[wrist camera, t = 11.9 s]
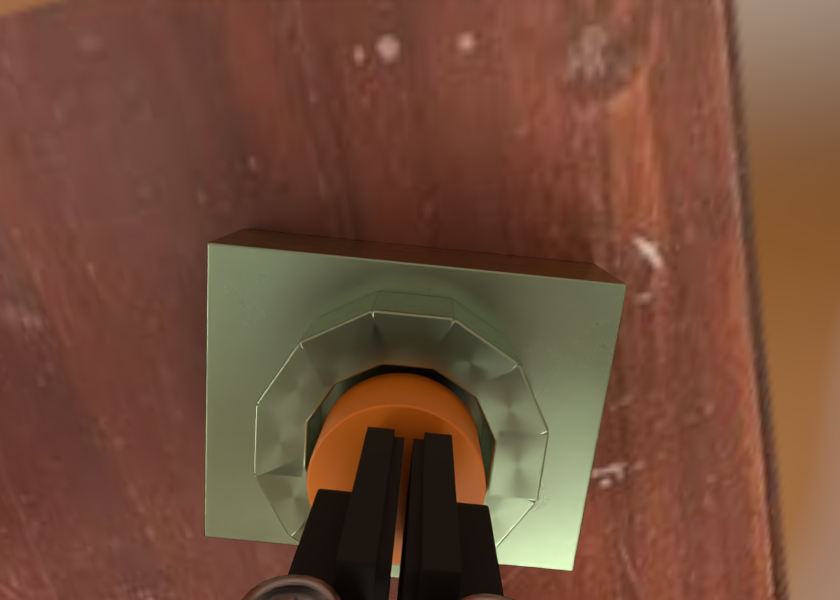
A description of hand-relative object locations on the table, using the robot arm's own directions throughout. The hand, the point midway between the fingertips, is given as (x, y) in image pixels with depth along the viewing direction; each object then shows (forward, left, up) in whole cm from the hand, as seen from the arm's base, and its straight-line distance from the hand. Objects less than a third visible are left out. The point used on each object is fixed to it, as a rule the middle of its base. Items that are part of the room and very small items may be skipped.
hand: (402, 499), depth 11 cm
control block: (0, 0, -6) cm, 6 cm away
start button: (0, 0, -2) cm, 2 cm away
